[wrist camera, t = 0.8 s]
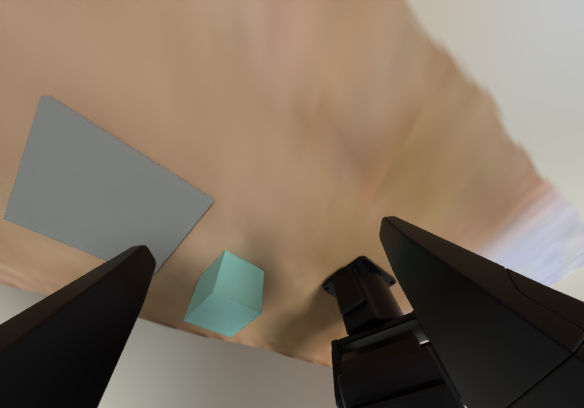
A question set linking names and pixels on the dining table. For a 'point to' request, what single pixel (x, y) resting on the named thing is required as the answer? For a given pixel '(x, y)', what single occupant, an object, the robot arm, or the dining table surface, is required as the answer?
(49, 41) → the dining table surface
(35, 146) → the gray mat
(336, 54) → the dining table surface
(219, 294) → the teal block
